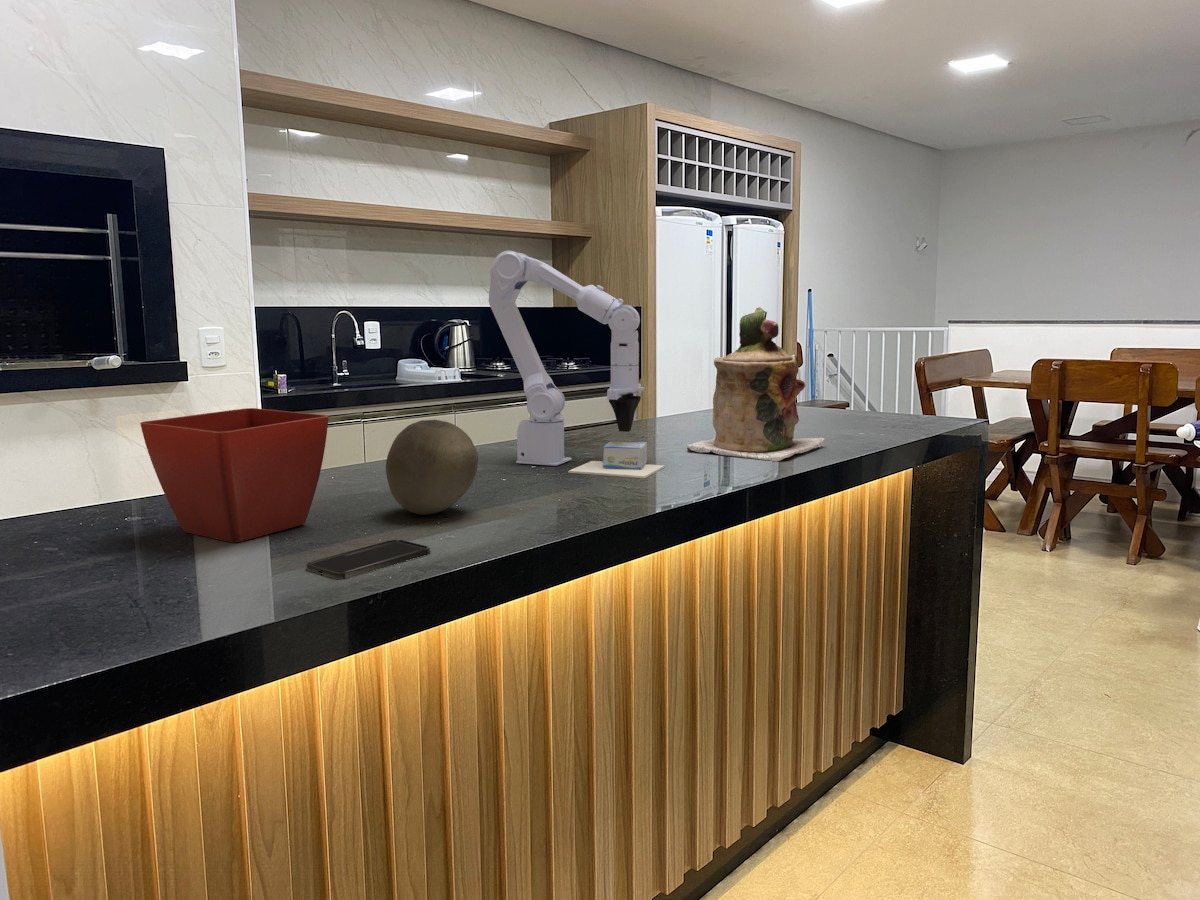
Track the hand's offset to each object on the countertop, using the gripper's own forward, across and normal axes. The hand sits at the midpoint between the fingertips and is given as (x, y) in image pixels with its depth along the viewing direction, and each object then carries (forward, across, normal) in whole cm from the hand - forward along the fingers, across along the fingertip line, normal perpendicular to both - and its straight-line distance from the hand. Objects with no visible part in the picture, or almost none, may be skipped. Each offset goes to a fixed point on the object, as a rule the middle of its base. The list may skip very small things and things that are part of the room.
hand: (624, 431), depth 186 cm
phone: (+8, -78, +6) cm, 79 cm away
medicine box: (+4, +1, 0) cm, 4 cm away
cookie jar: (+7, +28, -21) cm, 36 cm away
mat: (+7, -7, -1) cm, 10 cm away
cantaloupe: (+7, -52, +13) cm, 54 cm away
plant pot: (+7, -71, +34) cm, 79 cm away
